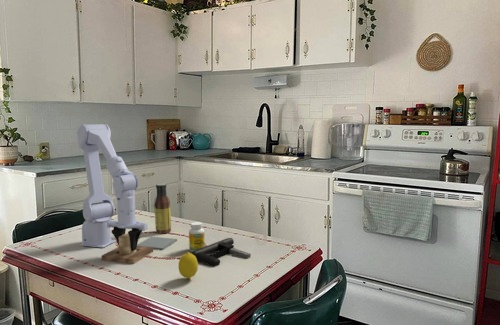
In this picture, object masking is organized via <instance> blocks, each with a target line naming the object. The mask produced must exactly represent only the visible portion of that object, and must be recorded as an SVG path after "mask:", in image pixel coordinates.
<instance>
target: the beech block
mask: <svg viewBox="0 0 500 325" xmlns="http://www.w3.org/2000/svg"><path fill="white" fill-rule="evenodd" d="M118 247H119V254H124V255H132V254H134V253H135V252H137V251H136V250H134V251H131V243H130V237H129V234H128V233H125V234H124V235H122V236H120V237H119V246H118Z"/></svg>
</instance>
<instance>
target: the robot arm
mask: <svg viewBox="0 0 500 325" xmlns="http://www.w3.org/2000/svg"><path fill="white" fill-rule="evenodd" d="M111 132H112V131H111V129H110V126H109V125H108V124H107V123H102V124H100V123H99V124H96V123H95V124H84V123H83V124H80V125H79V127H78V129H77V132H76V135H77V142H78V147H79V149H81V150H82V151H83V152H82V153H83V158H84V159H83V160H84V165H85V172H86V178H87V179H86V180H87V186H88V193H89V195H88V196H86V198H85V199H84V200H83V201H82V215H83V218H84V222H83V223H82V226H81V236H82V237H81V238H82V241H81V242H82V243H81V244H80V246H84V247H92V248H94V247H95V248H101V249H102V248H105V247H107V246H109V245H112V244H113V243H117V247H119V237H120V236H122V235H124V234H126V229H128V232H127V234H129V237H130V243H131V251H134V250H136V248H137V244H139V243H138V242H139V239H140V236H141V235H142V233H143V232H145V231H147V230H148V229H149V228H148V223H145V222H139V221H137V219H136V217H137V216H136V198H135V197H136V194H135V193H136V192H135V191H137V189H138V186H139V182H138V178H137V175H136V174H135V173H133V172H132V171H130V170H129V169H128V167H127V165H126V163H125V162H124V160H123V157H121V156H118V154H117V153H116V150H115V148H114V145H113V143H112V141H111V139H112V138H111V137H112V135H111V134H112V133H111ZM99 151H100V152H101V153H102V155H103V156H104V158H105V160H106V163H105V167H106V168H107V170H108V172H109V175H110V176H111V178H112V189H113V191H114V197H115V198H116V208H115V204H114V203H113V200H112V199H113V198H112V196H111V195H109V194H107V193H105V188H104V181H103V176H102V168H101V163H100V155H99ZM115 210H117V220H112V218H113V216H114V215H115V212H116V211H115ZM111 228H113V229H111ZM111 234H112V235H111ZM111 236H114V239H112V238H111Z"/></svg>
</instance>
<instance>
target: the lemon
mask: <svg viewBox="0 0 500 325" xmlns="http://www.w3.org/2000/svg"><path fill="white" fill-rule="evenodd" d="M198 268H199V263H198V260H197V259H196V257H195V256H194V255H193V254H191V252H186V253H184V254H183V255H181V256H180V258H179V260H178V271H179V274H180V275H181V276H182V277H183V278H186V279H187V280H190V279H191V278H193V277H194V276H196V274H197V272H198Z"/></svg>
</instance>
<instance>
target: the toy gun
mask: <svg viewBox="0 0 500 325" xmlns="http://www.w3.org/2000/svg"><path fill="white" fill-rule="evenodd" d="M234 241H235V240H234V238H232V237H226V238H224V239H222V240H219V241H217V242H214V243H210V244H209V245H205V247H203V248H200V249H198V250H195V251H190V253H191V254H193V255H194V256H195V257H196V259H197V262H198V261H199V262H200V263H203V264H206V265H208V266H211V267H217V266H219V265H220V263H221V260H220V258H222V257H225V256H227V255H232V256H237V257H239V258H243V259H250V258H251V255H252V254H251V253H249V252H247V251H244V250H240V249H238V248H235V246H234V243H235V242H234Z"/></svg>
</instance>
